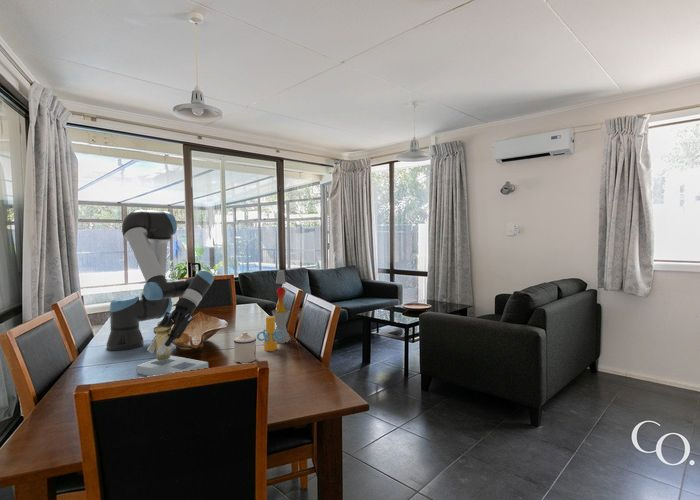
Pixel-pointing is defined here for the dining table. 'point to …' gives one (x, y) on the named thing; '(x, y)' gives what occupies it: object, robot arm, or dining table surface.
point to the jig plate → (170, 366)
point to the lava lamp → (281, 310)
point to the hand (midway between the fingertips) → (154, 352)
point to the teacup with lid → (245, 348)
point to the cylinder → (270, 334)
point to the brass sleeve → (160, 337)
